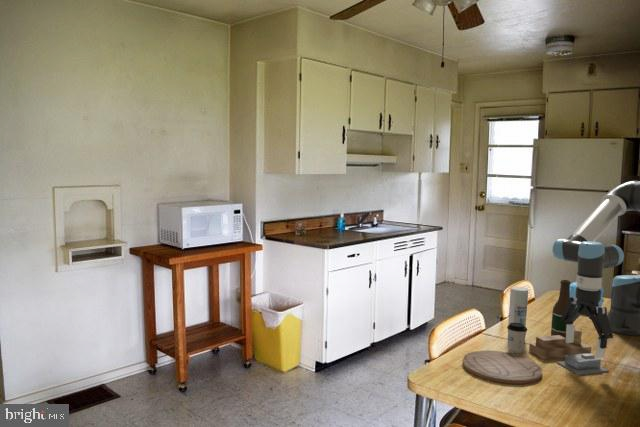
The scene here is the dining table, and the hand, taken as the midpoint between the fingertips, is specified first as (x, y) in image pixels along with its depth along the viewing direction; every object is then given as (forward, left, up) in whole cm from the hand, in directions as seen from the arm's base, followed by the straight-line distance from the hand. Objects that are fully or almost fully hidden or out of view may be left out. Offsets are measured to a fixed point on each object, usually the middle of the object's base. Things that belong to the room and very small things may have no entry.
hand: (584, 349), depth 173 cm
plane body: (-2, -13, -6) cm, 14 cm away
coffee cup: (+13, -18, -6) cm, 23 cm away
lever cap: (0, 0, -6) cm, 6 cm away
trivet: (+28, -5, -7) cm, 30 cm away
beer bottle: (-12, -24, -6) cm, 27 cm away
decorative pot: (-56, -61, -7) cm, 83 cm away
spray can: (+4, -30, -6) cm, 31 cm away
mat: (0, 0, -6) cm, 6 cm away
